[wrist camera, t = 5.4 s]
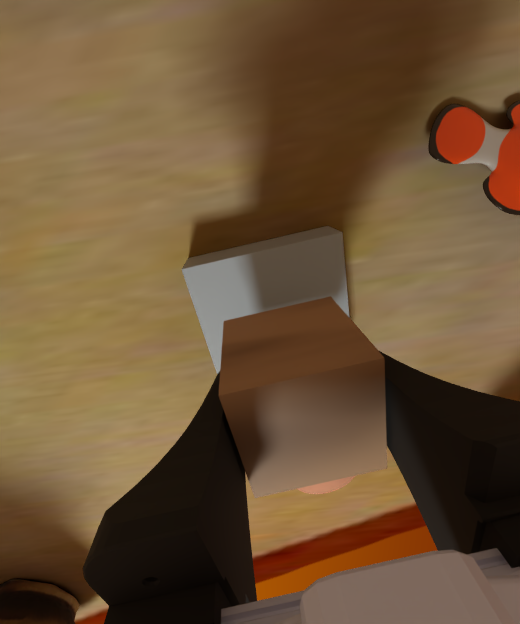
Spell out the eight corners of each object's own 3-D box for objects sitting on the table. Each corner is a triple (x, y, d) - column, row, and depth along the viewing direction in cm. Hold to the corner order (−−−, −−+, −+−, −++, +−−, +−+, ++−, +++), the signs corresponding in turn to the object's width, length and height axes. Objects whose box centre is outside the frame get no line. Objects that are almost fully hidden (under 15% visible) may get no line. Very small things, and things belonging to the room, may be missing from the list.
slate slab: (338, 342, 22) (353, 365, 19) (225, 368, 22) (224, 394, 19) (325, 225, 18) (342, 232, 15) (189, 256, 18) (181, 269, 15)
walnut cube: (340, 381, 15) (387, 468, 10) (248, 402, 15) (254, 498, 10) (330, 296, 13) (384, 358, 8) (223, 320, 13) (218, 395, 8)
